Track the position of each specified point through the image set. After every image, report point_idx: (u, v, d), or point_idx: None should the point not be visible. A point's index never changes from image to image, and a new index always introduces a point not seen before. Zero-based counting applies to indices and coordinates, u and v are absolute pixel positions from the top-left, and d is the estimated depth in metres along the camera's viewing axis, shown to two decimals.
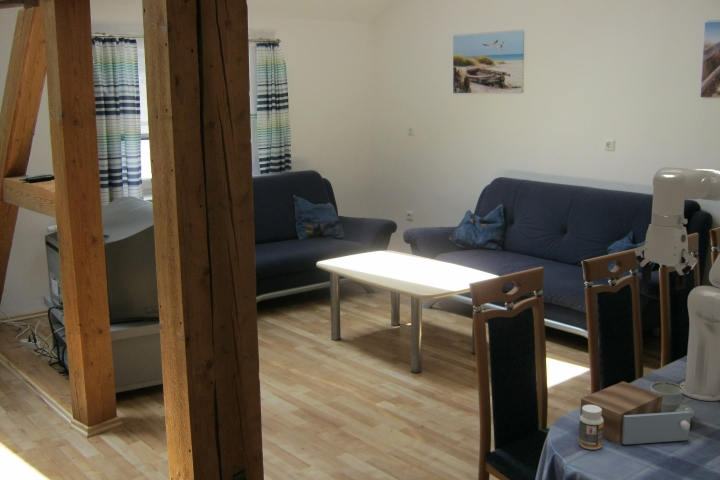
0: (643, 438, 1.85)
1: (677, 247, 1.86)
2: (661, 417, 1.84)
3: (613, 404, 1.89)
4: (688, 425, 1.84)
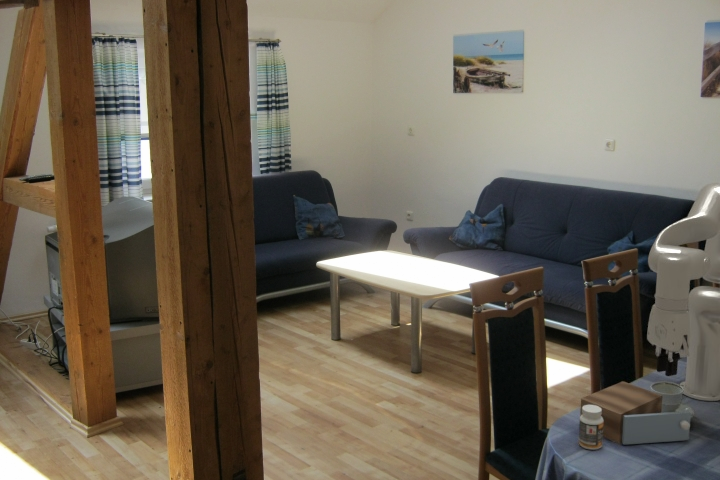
0: (643, 438, 1.85)
1: None
2: (661, 417, 1.84)
3: (613, 404, 1.89)
4: (688, 425, 1.84)
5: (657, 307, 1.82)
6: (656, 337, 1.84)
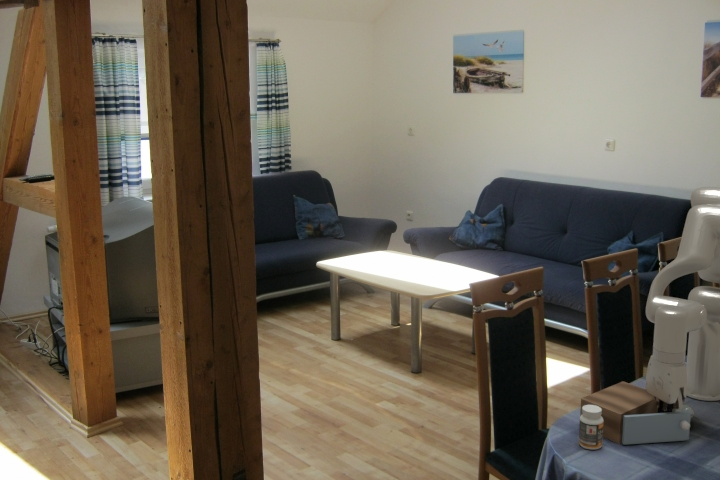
0: (643, 438, 1.85)
1: None
2: (661, 417, 1.84)
3: (613, 404, 1.89)
4: (688, 425, 1.84)
5: (654, 359, 1.84)
6: (653, 388, 1.87)
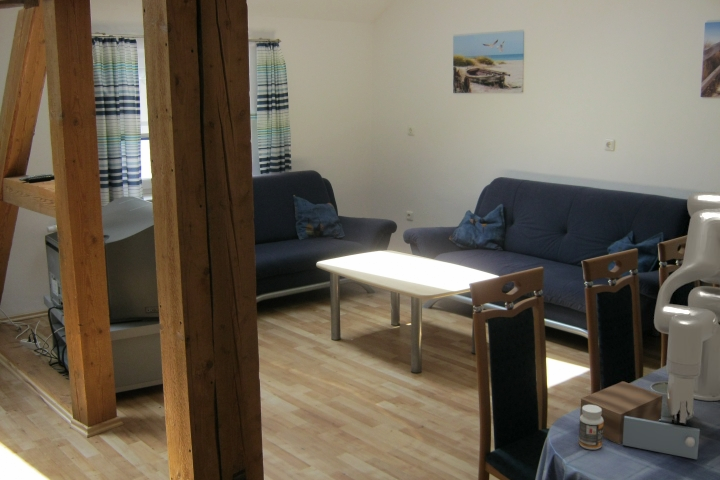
0: (644, 444, 1.82)
1: None
2: (664, 427, 1.79)
3: (613, 404, 1.89)
4: (692, 442, 1.75)
5: (666, 367, 1.79)
6: (667, 397, 1.81)
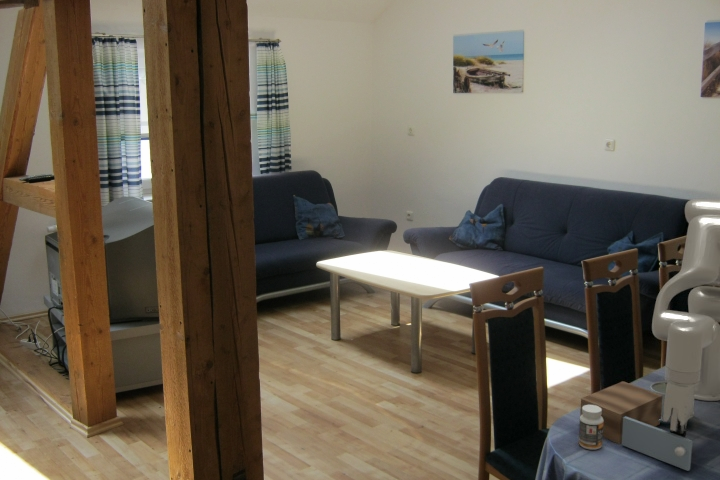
0: (640, 447, 1.80)
1: None
2: (658, 433, 1.76)
3: (613, 404, 1.89)
4: (681, 452, 1.71)
5: None
6: None
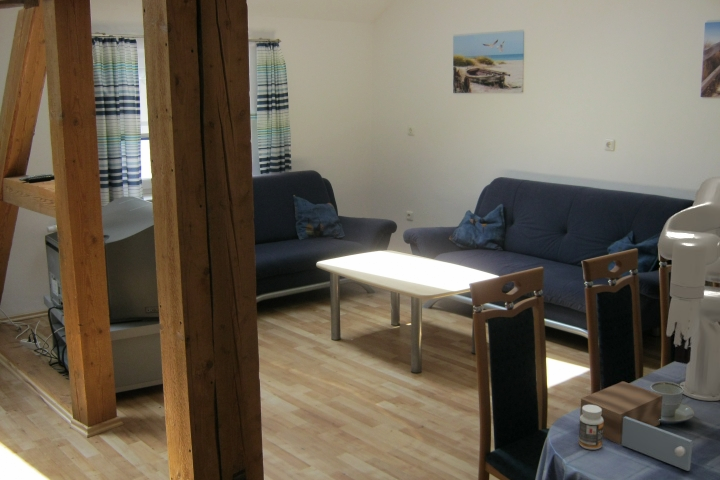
0: (640, 447, 1.80)
1: None
2: (658, 433, 1.76)
3: (613, 404, 1.89)
4: (680, 452, 1.71)
5: None
6: None
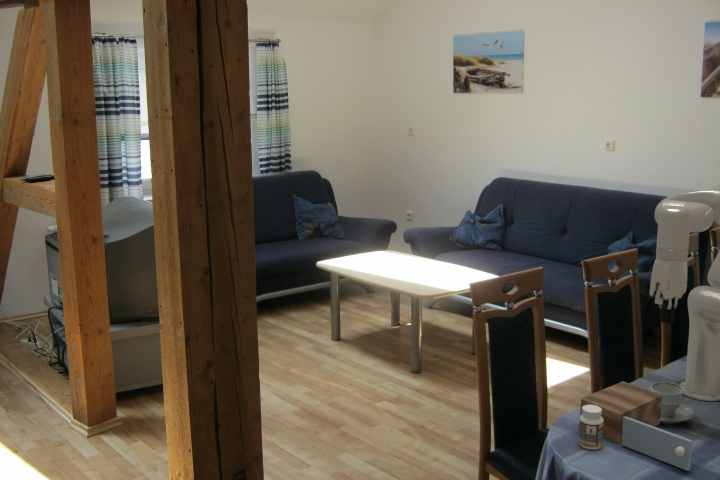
0: (640, 447, 1.80)
1: None
2: (658, 433, 1.76)
3: (613, 404, 1.89)
4: (680, 452, 1.71)
5: None
6: None
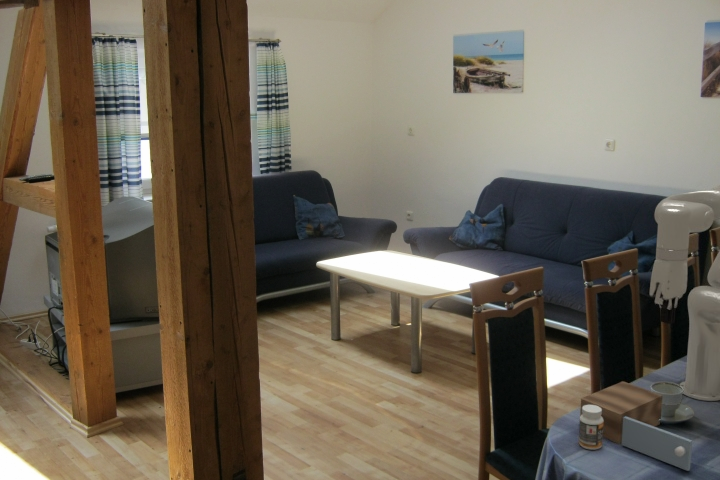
0: (640, 447, 1.80)
1: None
2: (658, 433, 1.76)
3: (613, 404, 1.89)
4: (680, 452, 1.71)
5: None
6: None
